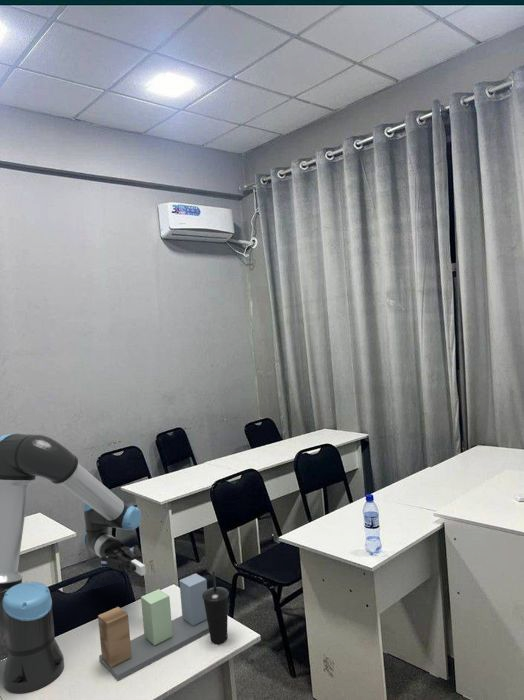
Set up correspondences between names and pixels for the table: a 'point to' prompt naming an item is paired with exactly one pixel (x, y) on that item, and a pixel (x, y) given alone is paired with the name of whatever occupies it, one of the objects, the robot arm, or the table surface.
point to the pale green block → (156, 616)
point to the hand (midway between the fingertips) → (143, 570)
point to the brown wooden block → (114, 636)
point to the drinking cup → (216, 612)
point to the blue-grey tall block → (193, 598)
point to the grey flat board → (157, 647)
